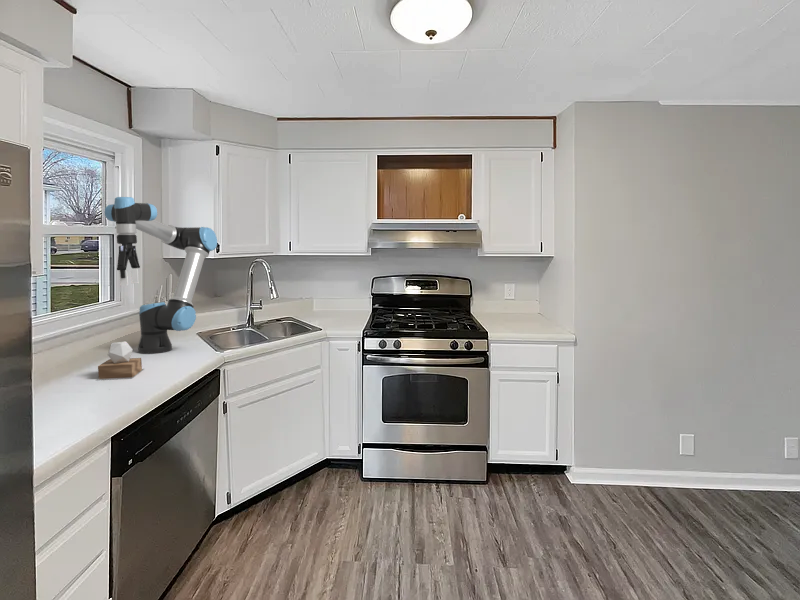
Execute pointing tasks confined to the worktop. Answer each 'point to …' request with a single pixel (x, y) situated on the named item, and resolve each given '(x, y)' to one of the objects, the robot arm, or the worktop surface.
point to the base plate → (119, 378)
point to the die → (120, 352)
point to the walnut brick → (119, 369)
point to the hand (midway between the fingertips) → (129, 284)
